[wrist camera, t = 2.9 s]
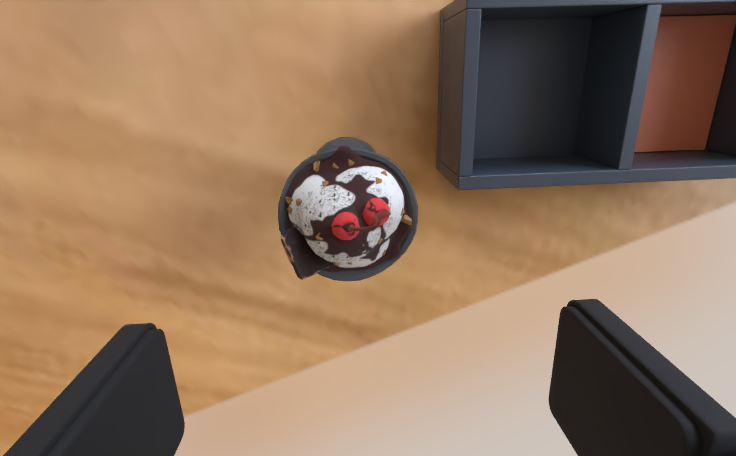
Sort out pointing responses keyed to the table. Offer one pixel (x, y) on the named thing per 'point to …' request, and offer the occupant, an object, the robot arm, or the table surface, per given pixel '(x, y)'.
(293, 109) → the table surface
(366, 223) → the sundae
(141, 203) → the table surface
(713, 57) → the caddy
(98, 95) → the table surface
